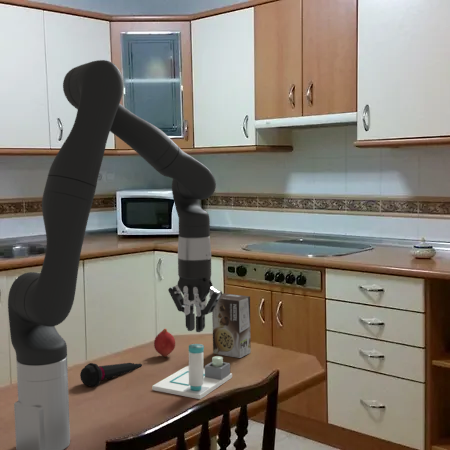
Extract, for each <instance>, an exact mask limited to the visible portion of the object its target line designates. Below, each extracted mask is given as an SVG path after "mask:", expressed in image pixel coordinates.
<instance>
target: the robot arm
mask: <svg viewBox="0 0 450 450" xmlns="http://www.w3.org/2000/svg"><path fill="white" fill-rule="evenodd" d="M62 90H63V93H64V97H65V98H66V100H67V101H68V102H69V104H70V105H71V106H72V107H73V108H75V109H76V117H75V120H74V123H73V125H72V128H71V130H70V132H69V134H68V135H67V138H66V139H65V140H64V142H63V144H62V145H61V147H60V149H59V150H58V152H57V154H56V155H55V157H54V159H53V161H52V162H51V165H50V168H49V171H48V173H47V178H46V181H45V186H44V190H43V193H42V199H41V211H42V218H43V223H44V224H43V225H44V230H45V231H44V232H45V236H46V245H45V253H44V254H45V255H44V259H43V262H42V267H41V271H40V272H33V271H30V272H25V273H22V274H21V275H19V276H18V277H16V278H15V279H14V281H13V282H12V284H11V286H10V288H9V292H8V296H7V311H8V323H9V334H10V341H11V344H12V347H13V349H14V352H15V357H16V358H15V359H16V381H17V383H16V384H17V401H15V402H14V403H13V404H14V405H13V406H14V407H13V408H14V411H13V412H14V429H15V431H14V432H15V450H65V449H67V448H68V447H69V445H70V444H71V429H70V428H71V427H70V402H69V400H70V399H69V398H70V397H69V378H68V373H69V372H68V345H67V342H66V340H65V339H64V338H63V337H62V335H60V334H59V332H58V330H57V328H56V326H58V325H60V324H62V323H63V322H64V321H65V320H66V319H67V318H68V316H69V314H70V312H71V310H72V309H73V304H74V302H75V301H74V300H75V296H76V295H75V294H76V289H77V283H78V282H77V280H78V274H79V267H80V261H81V260H80V259H81V253H82V249H83V245H84V238H85V234H86V231H87V225H88V220H89V218H90V217H89V216H90V213H91V209H92V206H93V202H94V198H95V193H96V191H97V190H96V189H97V185H98V179H99V175H100V171H101V167H102V164H103V163H102V162H103V160H104V159H103V158H104V154H105V152H106V146H107V141H108V138H109V135H110V133H112V134H113V135H115V136H116V137H117V138H118V139H120V140H122V141H121V142H124V143H125V145H127V146H129V147H130V148H131V149H132V150H133V151H134V152H136V153H137V154H138V155H139V156H140V157H141V158H143V159H144V160H145V162H147V164H149V166H151V167H152V168H153V169H154V170H155V171H156V172H158V173H159V174H160V175H162V176H164V177H165V178H166V177H168V178H171V179H172V182H171V193H172V194H171V195H172V197H173V202H174V206H175V207H174V208H175V211H176V213H177V216H178V217H177V218H178V243H177V273H178V274H177V275H178V281H177V284H175V286H171V287H169V288H168V293H169V295H170V297H171V299H172V302H174V305H175V308H176V309H177V310H178V312H182V313H183V314H184V315H185V327H186V329H187V331H188V332H192V331H194V330H195V332H196V333H201V332H203V331H204V329H205V328H206V316H207V315H208V314H212V312H213V310H214V308H215V306H216V304H217V303H218V301H219V299H220V297H221V295H222V294H223V291H221V290H217V289H216V288H214V286H213V282H212V279H211V277H212V244H211V243H212V241H211V229H210V228H211V227H210V225H211V224H210V223H211V222H210V214H209V213H208V211H205V210H204V209H203V208H202V207H201V204H200V200H202V201H203V200H206V199H208V198H210V197H212V195H214V193H215V191H216V187H217V183H216V179H215V176H214V174H213V173H212V171H211V170H210V169H209V168H208V167H207V166H206V165H205V164H203V163H202V162H200V161H198V160H197V158H194V157H193V156H192V155H190V154H188V153H186V152H185V151H184V150H183V149H181V148H180V146H178V144H176V143H175V142H174V141H173V139H171V138H170V137H169V135H167V133H165V132H164V131H163V130H162V129H160V128H159V127H157V126H155V125H154V124H152V123H150V122H149V121H147V120H145V119H144V118H142V117H140V116H138V115H136V114H135V113H133V112H132V111H130V110H129V109H128V108H126V107H125V106H123V104H121V100H122V97H123V94H124V93H123V92H124V79H123V75H122V73H121V71H120V69H119V68H118V66H117V65H115V64H114V63H113V62H112V61H109V60H107V59H99V60H94V61H89V62H86V63H84V64H80V65H78V66H75V67H72V68H71V69H70V70H69V71H68V72H67V73H66V74H65V75H64V77H63V81H62ZM208 295H209V299H208V301H207V297H208ZM195 313H196V315H195Z"/></svg>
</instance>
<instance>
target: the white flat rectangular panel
mask: <svg viewBox="0 0 450 450" xmlns="http://www.w3.org/2000/svg"><path fill="white" fill-rule="evenodd" d="M232 378H233V373H232V372H230V375H228V376H227V377H225V378H224V379H222V380H218V379H213V378H207V377H205V368H203V385H202V389H201V390H199V391H192V390H191V389H190V385H189V365H186V366H184V367H183V368H181V369H179V370H177V371H175V372H174V373H172V374H171V375H169V376H167V377H165V378H164V379H161V380H160V381H158V382H156V383H155V384H153V385H152V386H151V387H152V388H151V389H152V391H156V392H160V393H167V394H172V395H177V396H183V397H186V398H193V399H197V400H201V399H203V398H204V397H206V396H207V395H209V394H210V393H211V392H213V391H215V390H216V389H217V388H220V387H221V385H224V383H227V382H228V381H229V380H231V379H232Z"/></svg>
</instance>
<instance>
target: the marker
mask: <svg viewBox="0 0 450 450" xmlns="http://www.w3.org/2000/svg"><path fill="white" fill-rule="evenodd" d="M204 349H205V346H204V344H201V343H192V344H189V345H188V366H189V385H190V389H191V390H192V391H199V390H201V389H202V385H203V369H204V352H205V350H204Z"/></svg>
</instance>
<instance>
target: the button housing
mask: <svg viewBox="0 0 450 450" xmlns="http://www.w3.org/2000/svg"><path fill="white" fill-rule="evenodd" d="M204 369H205V377H207V378H213V379H218V380H222V379H224V378H225V377H227V376H228V375H230V373H231V363H230V362H225V361H223V366H222V367H214V366H212V361H210V362H209V363H207V364H206V365H204Z"/></svg>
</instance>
